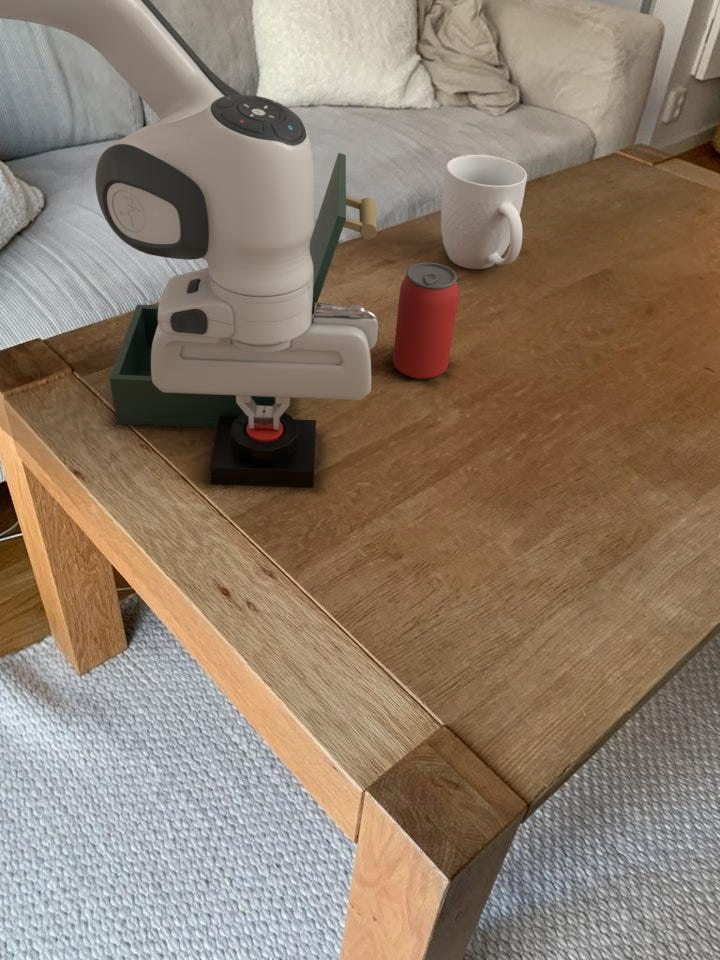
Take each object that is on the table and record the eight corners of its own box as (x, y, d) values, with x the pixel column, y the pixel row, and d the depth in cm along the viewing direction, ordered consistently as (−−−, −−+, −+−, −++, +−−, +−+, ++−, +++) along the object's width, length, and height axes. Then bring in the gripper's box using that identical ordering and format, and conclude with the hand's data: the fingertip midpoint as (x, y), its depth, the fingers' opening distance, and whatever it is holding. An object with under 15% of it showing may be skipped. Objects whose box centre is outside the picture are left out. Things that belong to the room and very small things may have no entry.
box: (117, 424, 86) (109, 378, 82) (142, 347, 96) (136, 304, 93) (285, 430, 87) (285, 386, 83) (292, 354, 97) (292, 311, 94)
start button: (245, 452, 80) (244, 438, 79) (248, 429, 83) (247, 415, 81) (282, 453, 80) (282, 439, 79) (284, 430, 83) (284, 416, 82)
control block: (211, 484, 80) (208, 452, 77) (220, 432, 86) (218, 401, 83) (313, 487, 80) (314, 456, 78) (315, 436, 86) (316, 405, 84)
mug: (541, 282, 114) (562, 191, 106) (475, 296, 110) (491, 203, 102) (482, 237, 124) (497, 150, 115) (419, 248, 120) (430, 159, 111)
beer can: (386, 375, 95) (396, 283, 87) (398, 346, 100) (408, 255, 92) (442, 386, 94) (456, 293, 86) (451, 356, 99) (465, 265, 91)
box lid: (337, 215, 71) (387, 231, 72) (338, 152, 82) (381, 166, 83) (281, 381, 82) (325, 393, 83) (289, 307, 93) (327, 318, 94)
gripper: (379, 288, 74) (369, 410, 83) (151, 277, 73) (166, 402, 82) (382, 325, 69) (370, 450, 79) (138, 314, 68) (155, 442, 77)
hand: (264, 425), depth 80 cm, fingers closed, pressing on start button
